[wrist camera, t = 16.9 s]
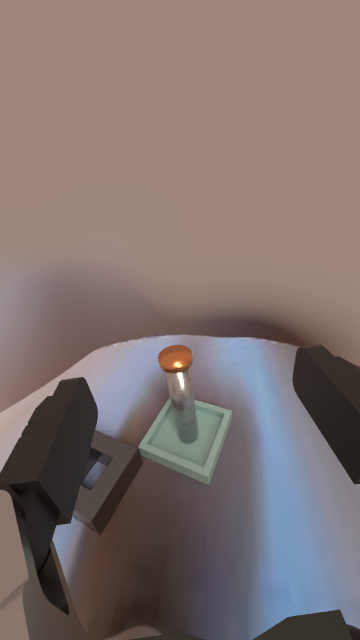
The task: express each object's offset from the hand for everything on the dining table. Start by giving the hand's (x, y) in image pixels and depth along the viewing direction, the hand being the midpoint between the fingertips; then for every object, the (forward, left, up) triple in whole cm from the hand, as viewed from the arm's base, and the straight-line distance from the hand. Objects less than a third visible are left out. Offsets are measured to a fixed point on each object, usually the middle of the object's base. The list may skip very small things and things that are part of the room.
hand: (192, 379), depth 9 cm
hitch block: (-4, -21, -32) cm, 39 cm away
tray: (-16, -11, -32) cm, 38 cm away
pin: (-16, -11, -31) cm, 37 cm away
